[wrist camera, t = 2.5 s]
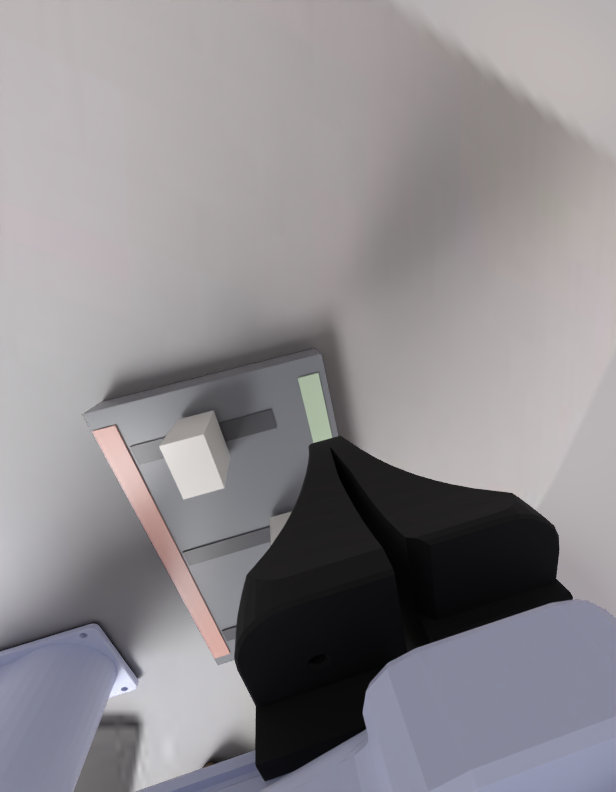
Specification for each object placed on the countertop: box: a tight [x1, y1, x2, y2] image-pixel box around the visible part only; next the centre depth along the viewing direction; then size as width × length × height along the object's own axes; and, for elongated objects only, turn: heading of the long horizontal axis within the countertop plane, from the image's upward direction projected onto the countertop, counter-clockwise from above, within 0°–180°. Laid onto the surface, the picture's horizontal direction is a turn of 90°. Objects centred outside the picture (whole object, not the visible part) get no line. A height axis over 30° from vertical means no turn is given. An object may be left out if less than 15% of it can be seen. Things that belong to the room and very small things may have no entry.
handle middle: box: [270, 511, 292, 545], centre depth 18 cm, size 2×3×3 cm, turn 13°
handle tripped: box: [159, 410, 230, 500], centre depth 15 cm, size 2×3×3 cm, turn 13°
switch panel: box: [82, 348, 338, 665], centre depth 20 cm, size 13×22×2 cm, turn 13°
